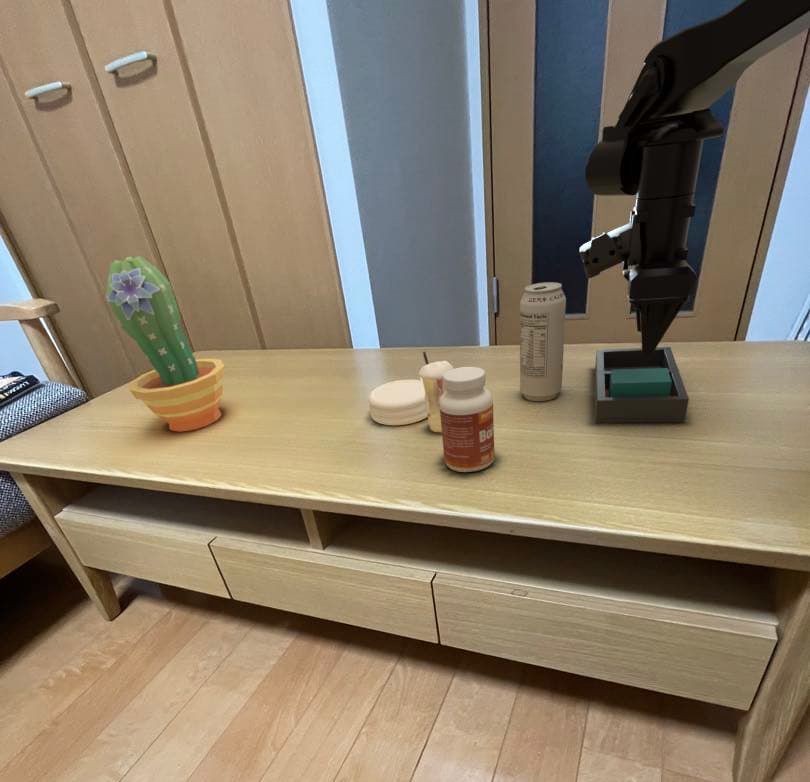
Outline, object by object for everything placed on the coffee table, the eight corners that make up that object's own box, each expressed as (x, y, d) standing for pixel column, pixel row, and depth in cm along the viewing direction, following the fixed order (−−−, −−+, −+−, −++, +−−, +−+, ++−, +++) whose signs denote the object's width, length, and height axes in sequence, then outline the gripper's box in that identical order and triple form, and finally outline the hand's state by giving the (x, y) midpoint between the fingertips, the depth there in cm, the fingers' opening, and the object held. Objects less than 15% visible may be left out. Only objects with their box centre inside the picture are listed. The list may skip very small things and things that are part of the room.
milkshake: (444, 416, 76) (438, 347, 70) (463, 428, 72) (458, 355, 66) (417, 425, 75) (408, 355, 69) (435, 437, 70) (427, 365, 65)
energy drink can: (570, 394, 76) (576, 284, 67) (536, 406, 74) (538, 294, 66) (544, 384, 81) (546, 279, 72) (512, 394, 79) (510, 288, 70)
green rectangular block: (663, 393, 70) (667, 367, 68) (667, 408, 67) (671, 381, 65) (608, 394, 73) (611, 369, 70) (609, 408, 69) (612, 383, 67)
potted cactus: (129, 438, 86) (47, 272, 71) (189, 401, 97) (129, 251, 82) (202, 442, 80) (131, 263, 65) (257, 402, 91) (206, 242, 77)
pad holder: (594, 369, 83) (596, 350, 81) (666, 367, 80) (670, 346, 78) (595, 423, 68) (597, 400, 66) (684, 422, 65) (689, 398, 63)
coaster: (357, 419, 79) (353, 397, 77) (401, 395, 85) (398, 374, 83) (405, 432, 73) (401, 408, 71) (449, 406, 79) (447, 383, 77)
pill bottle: (490, 475, 61) (486, 383, 54) (439, 473, 63) (429, 384, 56) (498, 450, 65) (496, 363, 59) (451, 449, 67) (443, 364, 61)
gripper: (587, 196, 65) (578, 324, 75) (585, 215, 51) (575, 370, 61) (685, 184, 62) (663, 319, 71) (711, 201, 48) (680, 367, 57)
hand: (644, 342), depth 65 cm, fingers open, 9 cm apart
